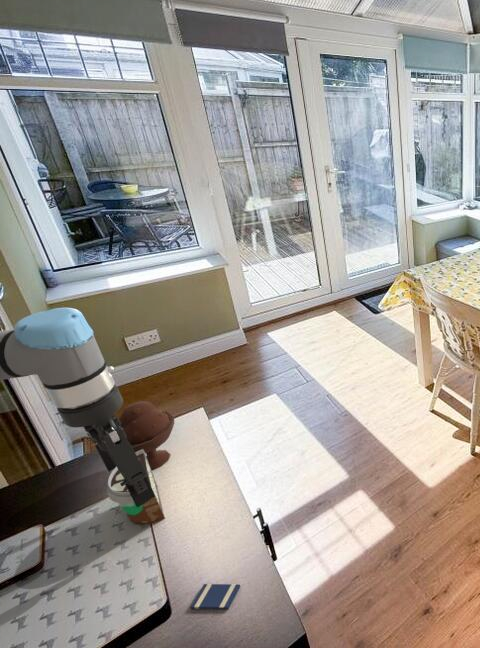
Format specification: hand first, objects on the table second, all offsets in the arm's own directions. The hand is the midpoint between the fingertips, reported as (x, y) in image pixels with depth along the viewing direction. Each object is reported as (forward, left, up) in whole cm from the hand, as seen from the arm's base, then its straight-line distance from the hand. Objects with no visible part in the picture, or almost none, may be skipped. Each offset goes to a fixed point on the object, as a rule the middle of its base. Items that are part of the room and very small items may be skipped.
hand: (131, 483), depth 78 cm
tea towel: (+28, 0, -8) cm, 29 cm away
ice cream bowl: (-12, +6, -8) cm, 16 cm away
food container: (0, 0, -8) cm, 8 cm away
